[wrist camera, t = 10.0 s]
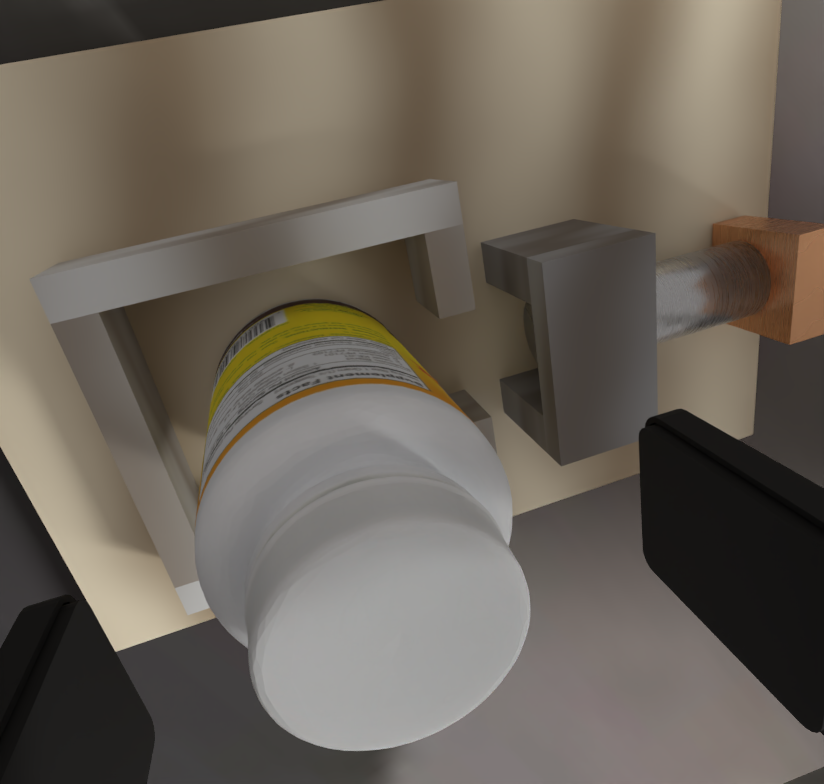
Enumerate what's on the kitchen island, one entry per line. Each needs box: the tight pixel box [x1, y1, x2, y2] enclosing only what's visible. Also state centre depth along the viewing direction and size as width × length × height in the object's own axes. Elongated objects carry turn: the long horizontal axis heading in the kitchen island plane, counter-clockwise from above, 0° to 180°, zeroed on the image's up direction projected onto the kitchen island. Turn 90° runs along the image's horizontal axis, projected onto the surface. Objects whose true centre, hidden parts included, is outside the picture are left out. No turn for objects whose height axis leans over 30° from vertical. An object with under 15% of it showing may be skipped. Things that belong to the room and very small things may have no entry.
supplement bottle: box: [195, 299, 530, 751], centre depth 12 cm, size 6×6×10 cm
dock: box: [0, 0, 782, 652], centre depth 16 cm, size 24×16×5 cm, turn 99°
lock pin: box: [523, 215, 824, 364], centre depth 17 cm, size 8×3×3 cm, turn 99°
